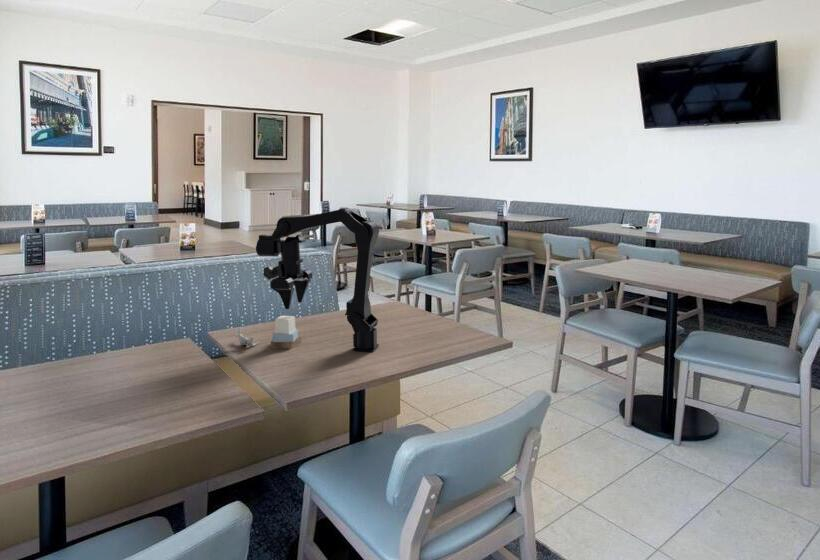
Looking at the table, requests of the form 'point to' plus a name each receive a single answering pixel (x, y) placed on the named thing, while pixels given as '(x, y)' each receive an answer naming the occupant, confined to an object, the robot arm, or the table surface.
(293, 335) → the tower mid
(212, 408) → the table surface
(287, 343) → the tower base
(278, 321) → the cube
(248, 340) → the soldier figure
